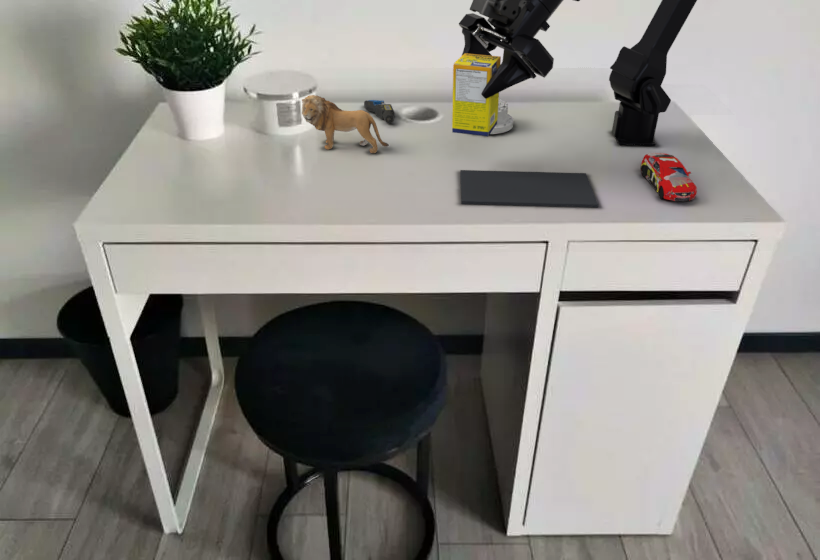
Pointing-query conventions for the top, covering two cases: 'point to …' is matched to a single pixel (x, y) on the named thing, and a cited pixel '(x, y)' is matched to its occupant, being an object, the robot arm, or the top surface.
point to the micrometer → (380, 109)
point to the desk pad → (526, 188)
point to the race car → (668, 177)
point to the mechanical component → (503, 119)
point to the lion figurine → (339, 121)
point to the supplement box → (474, 95)
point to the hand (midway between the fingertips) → (468, 88)
